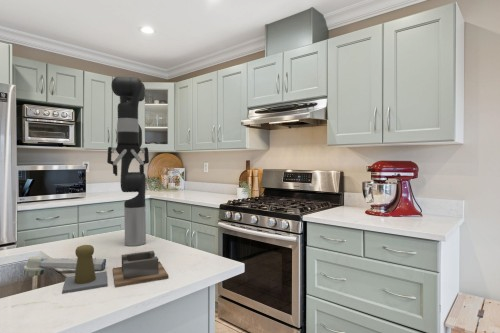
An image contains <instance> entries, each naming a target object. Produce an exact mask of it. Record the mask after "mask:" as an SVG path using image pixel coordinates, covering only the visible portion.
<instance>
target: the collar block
mask: <svg viewBox="0 0 500 333" xmlns="http://www.w3.org/2000/svg"><path fill="white" fill-rule="evenodd" d="M112 275H113V281H114V288H119V287H125V286H130V285H131V286H132V285H136V284H144V283H149V282H155V281H162V280H166V279H169V273H168V272H167V270H166V269H165V267H164V266H163V264H162V263H161V261H160V260H159V257H158V256H156V253H155V251H154V250H149V251H141V252H134V253H126V254H121V266H118V267H113V268H112Z"/></svg>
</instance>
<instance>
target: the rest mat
mask: <svg viewBox="0 0 500 333" xmlns="http://www.w3.org/2000/svg"><path fill="white" fill-rule="evenodd" d="M95 276H96V280H94V281H93V282H90V283H86V284H76V283H74V281H75V275H73V276H71V275H70V276H66V277H65V280H64V283H63V287H62V291H61V294H68V292H69V293H73V292H81V291H86V290H94V289H98V288H106V287H108V286H109V285H108V284H109V283H108V282H109V281H108V273H107V271H99V272H95Z"/></svg>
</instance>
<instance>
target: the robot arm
mask: <svg viewBox="0 0 500 333" xmlns="http://www.w3.org/2000/svg"><path fill="white" fill-rule="evenodd" d="M111 90H112V93H113V94H114V95H116V96H118V97H119V103H118V104H117V121H116V122H117V123H116V140H117V141H116V142H117V143H116V147H111V146H108V147H107V160H106V161H107V164H110V165H112V174H113V175H114V176H115V177H117V176H118V165H117V164H118V163H119V162H120V161H121V162H120V163H121V164H120V166H121V167H120V190H121V192H122V193H138V194H137V195H135V196H134V197H131V198H130V199H126V200H124V202H123V204H124V205H123V206H124V210H123V211H124V213H123V214H124V245H125V246H127V247H128V246H130V247H137V246H142V245H145V244H146V243H147V231H146V230H147V220H146V212H147V211H146V187H147V186H146V184H147V182H146V180H147V177H146V174H145V165H147V164H149V162H150V157H149V148H148V147H141V146H142V144H143V130H142V127H141V125H140V123H139V103H140V102H143V101H144V100H145V97H146V87H145V84H144V82H143V81H142V80H141V79H140V78H139V77H135V76H133V77H131V76H116V77H114V78H113V79H112V81H111ZM115 151H116V153H117V154H118V155H117V157H116V159H115V160H112V154H113V153H115ZM140 152H141V153H142V154H144V155H143V158H144V160H143V159H142V158H141V157H140V156H139V154H140ZM134 159H135V160H136V161H137V162H138V163H139V171H135V172H134V171H133V172H132V171H130V172H129V169H130V167H131V166H130V165H131V163H132V161H133V160H134Z"/></svg>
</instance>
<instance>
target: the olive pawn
mask: <svg viewBox="0 0 500 333" xmlns="http://www.w3.org/2000/svg"><path fill="white" fill-rule="evenodd" d="M94 252H95V248H94V246H93V245H91V244H83V245H79V246H77V247H76V248H75V256H76V257H77V265H76V269H75V275H74V276H75V281H74V283H76V284H86V283H90V282H93V281H94V280H96V276H95V273H96V270H94V264H93V255H94Z"/></svg>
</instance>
